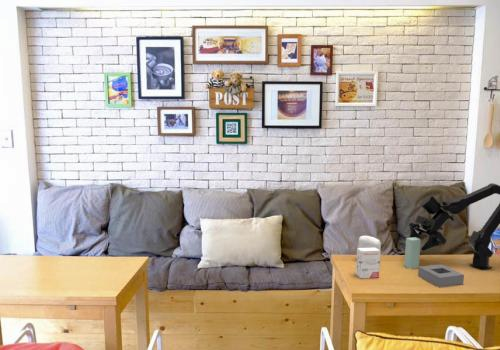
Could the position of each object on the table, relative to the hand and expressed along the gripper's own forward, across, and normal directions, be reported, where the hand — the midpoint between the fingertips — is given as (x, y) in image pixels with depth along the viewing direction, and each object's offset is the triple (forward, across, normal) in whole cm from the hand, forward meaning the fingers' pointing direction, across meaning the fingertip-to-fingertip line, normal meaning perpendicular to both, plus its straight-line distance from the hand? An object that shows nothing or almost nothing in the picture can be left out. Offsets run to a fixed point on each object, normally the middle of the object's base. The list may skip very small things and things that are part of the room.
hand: (414, 246), depth 183 cm
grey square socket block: (+6, +16, +7) cm, 18 cm away
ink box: (+26, +4, -12) cm, 29 cm away
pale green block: (+7, 0, +6) cm, 9 cm away
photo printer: (+19, -9, -5) cm, 22 cm away
